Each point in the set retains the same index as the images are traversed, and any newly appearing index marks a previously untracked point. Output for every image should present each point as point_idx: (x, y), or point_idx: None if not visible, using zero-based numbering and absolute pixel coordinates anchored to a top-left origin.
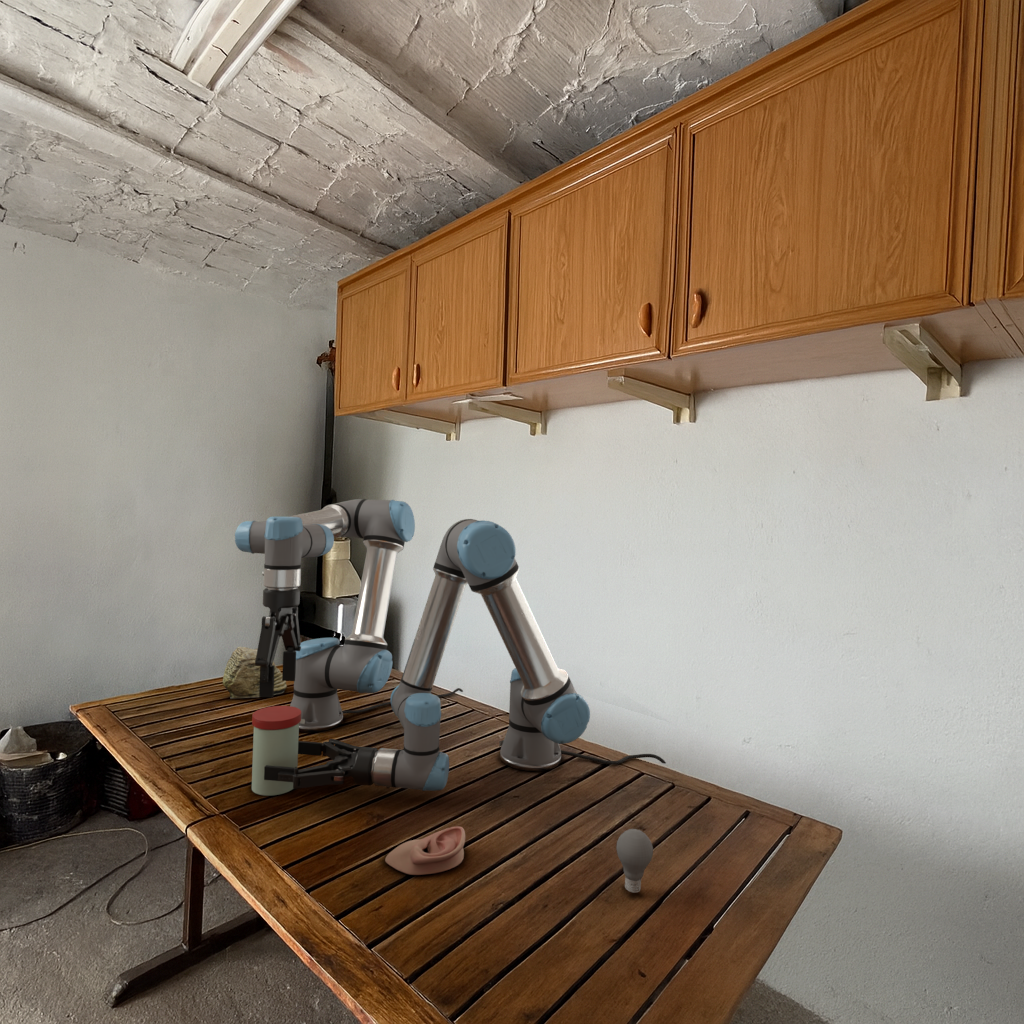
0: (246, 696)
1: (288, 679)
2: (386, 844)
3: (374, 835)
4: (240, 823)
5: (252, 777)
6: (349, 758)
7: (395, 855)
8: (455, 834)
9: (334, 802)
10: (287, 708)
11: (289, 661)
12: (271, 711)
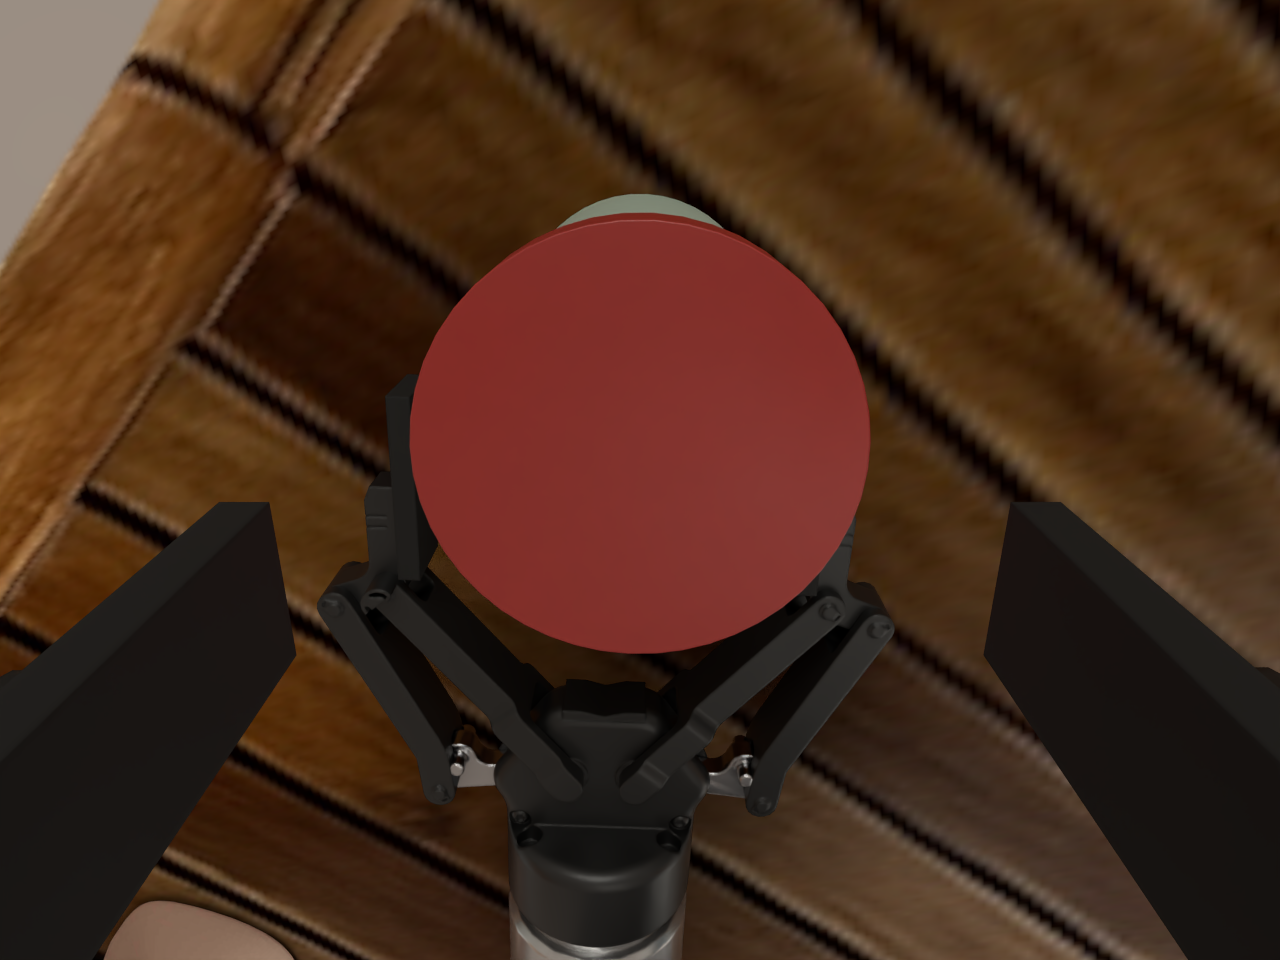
0: None
1: (1004, 595)
2: (257, 879)
3: (302, 836)
4: (232, 319)
5: (561, 225)
6: (614, 785)
7: (143, 944)
8: None
9: (518, 644)
10: (789, 500)
11: (1154, 791)
12: (683, 386)
